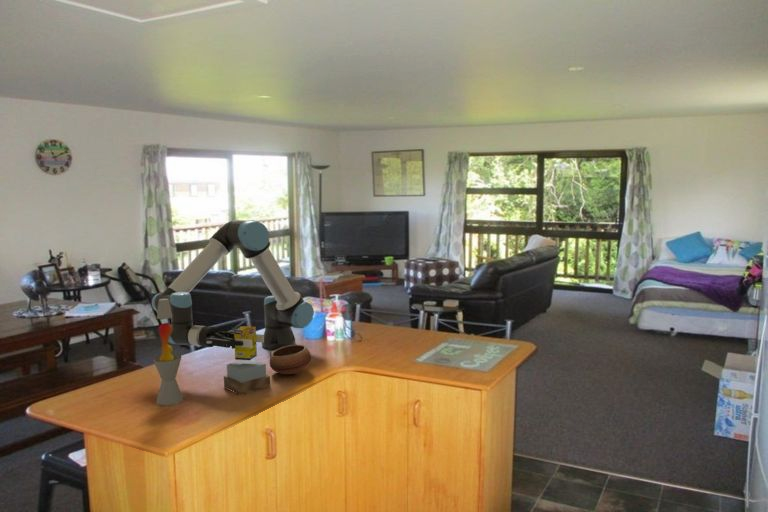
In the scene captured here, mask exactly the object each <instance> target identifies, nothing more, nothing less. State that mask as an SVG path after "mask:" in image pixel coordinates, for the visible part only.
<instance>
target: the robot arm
mask: <svg viewBox="0 0 768 512" xmlns="http://www.w3.org/2000/svg"><path fill="white" fill-rule="evenodd" d="M270 247H271V243H270V232H269V230H268V228H267V226H266V225H265V224H263V222H261V221H257V220H252V219H250V220H248V219H247V220H246V219H245V220H244V219H243V220H241V219H234V220H233V219H232V220H230V221H228V222H225V224H224V225H222V226H220V228H219V229H217V231H216V232H214V233H213V235H212V236H211V237H210V238H209V240H208V244H207V245H206V246H205V247H204V248H203V249H202V250H201V251H200V252H199V253H198V254H197V255H196V257H194V259H193V260H192V261H191V262H190V263H189V264H188V265H187V266H186V267H185V268H184V270H183V271H182V272H181V273H180V274H179V275H177V277H176V278H175V279H174V280H173V281H172V282H171V283H170V284H169V286H168V287H167V288H166V289H165V290H164V291H163V292H160V293H157V294H155V295H154V296H153V297H152V299H151V307H152V308H153V310H154V311H156V312H158V303H159V300H160V299H168V300H169V304H170V308H171V312H172V316H173V317H172V318H170V319H171V323H170V325H171V326H172V333H171V335H170V337H169V340H168V343H170V344H173V345H174V344H175V345H179V346H181V345H182V346H183V345H184V346H193V347H194V346H195V347H197V348H200V347H203V348H214V347H220V348H227V349H230V348H231V349H233V350H235V345H236V346H238V347H248V348H252V347H253V344H252V340H250V339H239V338H236V339H234V330H230V329H228V330H227V331H222V330H221V331H219V330H218V329H217V328H216V327H215V326H206V325H197V324H196V325H194V324H193V323H194V322H193V301H192V296H191V295H192V294H191V293H190V292H191V291H193V289H194V288H195V287H197V285H198V284H199V283H200V281H201V280H203V278H204V277H205V276H206V275H207V274H208V273H209V272H210V271H211V269H212V268H213V267H215V265H216V264H218V262H219V261H220V260H221V259H222V257H223V256H227V255H229V253H230V252H232V251H233V250H235V249H239V250H240V252H241V253H242V255H243V257H244V258H245V259H247V260H250V261H251V263H252V264H253V265H254V267H255V269H256V271H257V272H258V274H259V275H260V277H261V279H262V280H263V282H264V283H265V285H266V287H267V288H268V290H269V291H270V293H271V294H272V295H267V296H266V297H265V298H264V300H263V308H264V310H263V313H264V333H263V334H257V333H256V343H260V344H261V347H262V348H264V349H268V350H277V349H279V348H281V347H285V346H289V345H297V344H296V337H295V335H294V332H293V329H292V328H294V329H305V328H306V327H308V326H310V324H311V323H312V320H313V319H314V314H315V313H314V312H315V311H314V307H313V305H312V304H311V303H310V302H308V301H305V300H304V299H303V297H302V295H301V294H300V292H298V291H294V288H293V287H292V285H291V284H290V282H289V280H288V279H287V277H286V276H285V273H284V271H283V270H282V268H281V267H280V265H279V264H278V262H277V260H276V259H275V256H274V255H273V253H272V252H271V250H270Z"/></svg>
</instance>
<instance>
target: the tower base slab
mask: <svg viewBox="0 0 768 512" xmlns="http://www.w3.org/2000/svg"><path fill="white" fill-rule="evenodd" d="M223 385H224V388H225V387H226V388H225V389H227V388H228V389H227V390H229V389H230V391H231V390H232V391H231V392H233V391H234V392H233V393H235V392H236V393H235V394H237V395H238V394H239V395H238V396H243V395H247V394H251V393H253V392H254V393H255V392H257V390H258V391H261V389H262V390H265V389H269V388H271V376H270V375H268V374H266V376H265V377H261V378H258V379H254V380H250V381H246V382H242V383H241V382H238V381H236V380H234V379H232V378H230V377H228V376H227V374H226V375H223ZM264 388H265V389H264ZM246 393H247V394H246ZM242 394H243V395H242Z"/></svg>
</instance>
